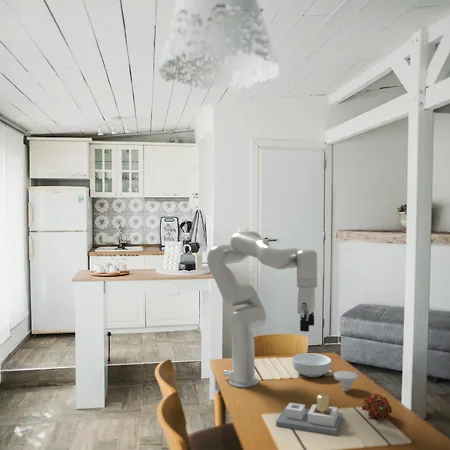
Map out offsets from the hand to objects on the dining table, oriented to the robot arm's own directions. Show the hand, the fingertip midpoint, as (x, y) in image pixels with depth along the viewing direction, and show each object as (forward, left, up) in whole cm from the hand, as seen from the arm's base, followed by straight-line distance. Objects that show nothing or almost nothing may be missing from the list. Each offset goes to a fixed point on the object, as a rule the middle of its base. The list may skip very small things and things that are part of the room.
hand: (307, 328), depth 179 cm
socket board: (+4, -16, -28) cm, 33 cm away
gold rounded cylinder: (+8, -16, -27) cm, 32 cm away
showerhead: (+12, +18, -28) cm, 36 cm away
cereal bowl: (-5, +32, -29) cm, 43 cm away
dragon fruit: (+25, -4, -29) cm, 38 cm away
